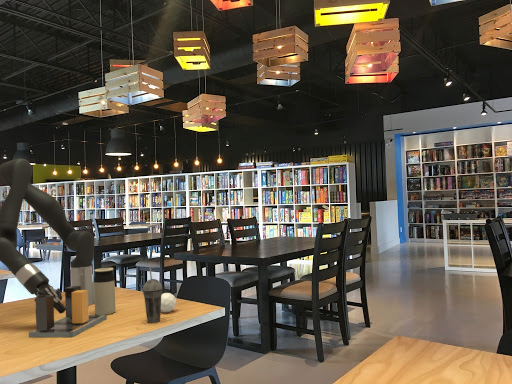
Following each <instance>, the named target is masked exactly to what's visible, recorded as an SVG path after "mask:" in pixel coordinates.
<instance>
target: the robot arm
mask: <svg viewBox="0 0 512 384" xmlns="http://www.w3.org/2000/svg"><path fill="white" fill-rule="evenodd" d="M32 175H33V165H32V164H31V163H30V161H29V160H27V159H25V158H16V159H12V160H9V161H6V162H3V163H2V164H0V179H1V180H2V181H3V182H4V184H6V185H7V186H8V187H9V191H8V193H7V195H6V197H5V199H4V200H3V202H2V205H1V206H0V263H2V264H3V265H4V266H6V268H7V269H8V271H10V273H12V275H14V277H15V278H16V279H17V281H18V282H19V283H20V284H21V285H22V286H23V288H25V289H26V291H27V292H28V293H29V294H30V295H35V296H36V297H35V298H34V299H33V300H34V302H36V298H37V297H40V296H43V295H54V310H56V312H58V314H64V313H66V305H64V304H63V303H62V302H61V301H62V300H63V296H62V292H61V291H62V290H61V288H59V287H58V288H54V287H53V286H52V285H51V284H50V280H49V278H48V277H47V276H46V275H45V274H44V273H43V272H42V271H41V270H40V268H38V267H37V266H36V265H35V264H33V262H32V261H31V260H30V259H28V257H27V256H25V255H24V254H23V253H21V252H20V251H19V250H18V233H17V232H18V226H19V225H18V224H19V220H20V214H21V209H22V205H23V202H24V201H25V202H26V203H27V204H28V205H29V206H30V207H31V208H32V209H33V210H34V212H36V214H37V215H38V216H39V217H40V218H41V219H42V220H43V221H44V222H45V223H46V224H47V225H48V226H49V227H50V228H51V229H52V230H53V231H54V232H55V234H57V236H58V237H59V238H60V239H61V241H62V242H63V243H64V245H65V246H66V248H67V249H68V250H69V251H73V252H75V258H73V259H72V260H71V261H70V263H69V264H70V286H81V290H88V306H90V305H92V304H95V299H94V277H93V274H94V273H93V261H94V258H95V238H94V236H93V233H91V232H90V231H86V230H82V231H81V230H80V231H79V230H77V229H75V227H73V225H72V224H70V222H69V221H68V218H67V215H66V211H65V209H64V207H63V206H62V205H61V203H59V201H58V200H57V199H56V198H55V197H54V196H53V195H51V194H49V192H46V191H44V190H42V189H40V188H38V187H37V186H35V185H33V184H32V183H31V178H32Z"/></svg>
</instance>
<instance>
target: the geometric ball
mask: <svg viewBox="0 0 512 384" xmlns="http://www.w3.org/2000/svg"><path fill="white" fill-rule="evenodd" d="M176 307H177V299H176V297H175V295H173V294H172V293H171V292H164V293H162V295H161V312H162V313H168V314H169V313H171V312H172V311H174V309H175V308H176Z"/></svg>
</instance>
